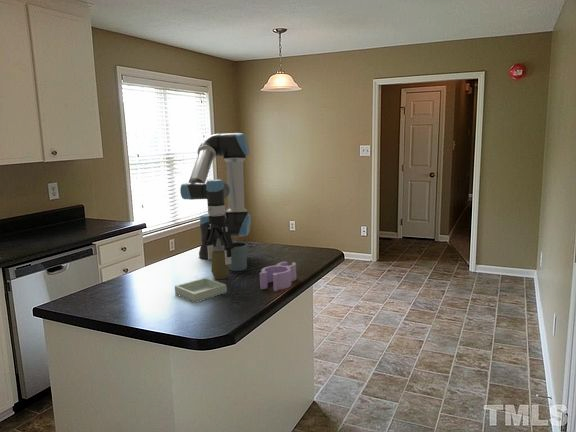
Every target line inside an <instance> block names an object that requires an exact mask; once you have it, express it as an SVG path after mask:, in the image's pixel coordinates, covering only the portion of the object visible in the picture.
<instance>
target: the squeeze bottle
mask: <svg viewBox="0 0 576 432" xmlns="http://www.w3.org/2000/svg"><path fill="white" fill-rule="evenodd" d="M210 269H211V273H212V276H213V277H214V279H215V280H224V279H227V278H228V276H229V273H230V269H229V264H228V265H226V264H225V251H224V246H222V245H221V242H220V239H217V243H216V246H215V247H214V252H212V259H211V268H210Z"/></svg>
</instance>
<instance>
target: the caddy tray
mask: <svg viewBox="0 0 576 432" xmlns="http://www.w3.org/2000/svg"><path fill="white" fill-rule="evenodd" d="M226 292H227V293H228V290H227V284H225V283H222V282H221V281H220V282H219V281H217V280H214V279H211V278H208V277H203V278H199V279H196V280H191V281H188V282H185V283H181V284H178V285H174V294H175V295H176V294H177V296H178V295H180V296H182V297H181V298H183V297H184V298H183V299H185V298H187V299H189V300H191V301H190V302H192V301H193V302H192V303H194V302H196V303H198V302H197V301H199V302H201V301H200V300H203V299H206V300H208V299H207V298H209V299H211V298H210V297H212V298H214V297H213V296H216V295H219V296H221V295H220V294H222V295H224V294H223V293H225V294H227V293H226ZM180 296H179V297H180ZM216 297H217V296H216ZM187 299H186V300H187ZM189 300H188V301H189ZM203 301H204V300H203Z"/></svg>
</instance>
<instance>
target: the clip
mask: <svg viewBox="0 0 576 432" xmlns="http://www.w3.org/2000/svg"><path fill="white" fill-rule="evenodd" d="M296 280H297V263H296V262H294V261H293V262H291V264H290V265H288V261H281V262H278V263H276V264H275V265H268V266H265V267H262V268H261V271H260V272H259V289H260V290H265V289H268V284H269V283H272V284H273V285H272V287H273V292H277V291H280V290H285V289H288V288H290V287H291V286H292V282H294V281H296Z"/></svg>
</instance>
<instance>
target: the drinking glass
mask: <svg viewBox="0 0 576 432" xmlns="http://www.w3.org/2000/svg"><path fill="white" fill-rule="evenodd" d="M233 244H234V248H233V249H231V263H232V264H228V265H229V271H233V272H238V271H239V272H240V271H245V270H247V268H248V243H247V242H244V241H234V242H233ZM227 247H228V246H227Z"/></svg>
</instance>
